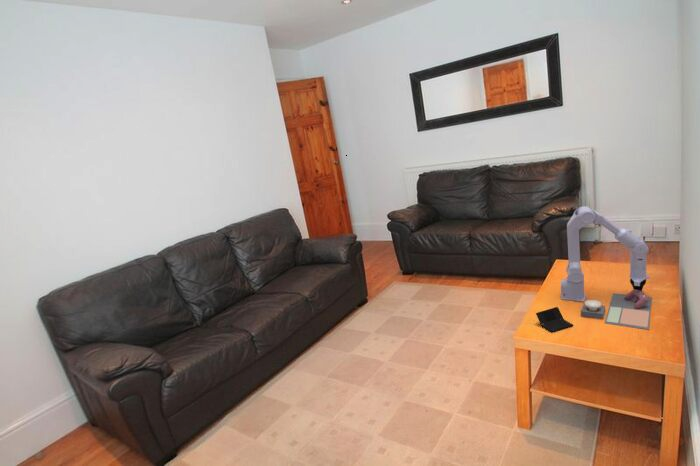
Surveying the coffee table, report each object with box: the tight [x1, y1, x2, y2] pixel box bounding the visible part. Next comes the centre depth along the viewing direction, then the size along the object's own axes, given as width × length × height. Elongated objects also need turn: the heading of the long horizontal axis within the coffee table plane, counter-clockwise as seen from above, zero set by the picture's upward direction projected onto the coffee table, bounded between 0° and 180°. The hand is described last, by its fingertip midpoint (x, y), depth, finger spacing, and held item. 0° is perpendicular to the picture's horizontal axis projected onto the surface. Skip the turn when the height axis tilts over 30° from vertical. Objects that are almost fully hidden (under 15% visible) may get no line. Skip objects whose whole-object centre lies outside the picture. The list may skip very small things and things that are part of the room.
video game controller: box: [624, 289, 649, 309], centre depth 167 cm, size 10×5×7 cm, turn 169°
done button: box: [584, 299, 602, 311], centre depth 165 cm, size 6×6×4 cm
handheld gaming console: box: [535, 306, 574, 334], centre depth 163 cm, size 12×7×10 cm
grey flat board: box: [604, 292, 653, 331], centre depth 164 cm, size 14×30×1 cm, turn 141°
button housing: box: [580, 302, 606, 320], centre depth 166 cm, size 8×8×2 cm
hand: (637, 294), depth 171 cm, fingers closed
